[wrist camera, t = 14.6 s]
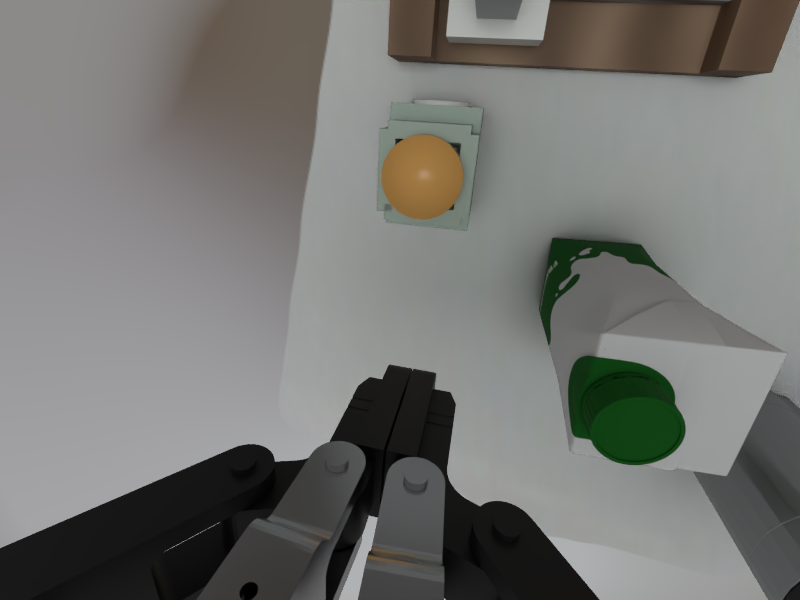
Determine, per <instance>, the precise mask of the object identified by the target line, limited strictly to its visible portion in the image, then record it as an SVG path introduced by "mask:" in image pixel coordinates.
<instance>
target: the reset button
mask: <svg viewBox="0 0 800 600" xmlns="http://www.w3.org/2000/svg"><path fill="white" fill-rule="evenodd" d="M457 149H458V146H455V145H450V144H449V143H448V142H447V141H445V140H444V139H442V138H440V137H438V136H434V135H429V134H419V135H414V136H411V137H408V138H406V139H403V140H402V141H400V142H399V143H397V144H396V145H395V146H394V147H393V148H392V149H391V150H390V152H389V153H388V155H387V157H386V159H385V161H384V164H383V168H382V175H381V179H382V187H383V190H384V193H385V196H386V198H387V199H388V201H389V202H390V204H391V205H392V206H393V207H394V208H395V209H396V210H397V211H398V212H400V213H401V214H403V215H405V216H407V217H410V218H413V219H420V220H425V219H431V218H435V217H437V216H440V215H441V214H443V213H445V212H446V211H447V210H448V209H450V208H451V207H452V205H453V204H454V203H455V201H456V200H457V198H458V196H459V194H460V191H461V188H462V184H463V176H464V174H463V166H462V162H461V159H460V157H459V155H458V153H457Z"/></svg>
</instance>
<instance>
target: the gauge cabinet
mask: <svg viewBox="0 0 800 600" xmlns="http://www.w3.org/2000/svg"><path fill="white" fill-rule="evenodd" d="M469 104H470V103H466V102H454V101H439V100H420V99H413V104H411V103H395V102H391V114H390V120H388V127H386V128H380V133H379V161H378V190H377V211H384V219H386V222H389V223H398V224H408V225H417V226H426V227H436V228H445V229H455V230H464V231H467V228H468V222H469V215H470V209H471V201H472V193H473V186H474V178H475V171H476V163H477V155H478V148H479V140H480V133H481V125H482V118H483V110H484V109H483V108H474V107H469ZM419 134H429V135H434V136H438V137H440V138H442V139H444V140H445V141H447V142H448V143H449V144H450V145H455V146H458V149H457V153H458V155H459V157H460V159H461V162H462V166H463V174H464V176H463V184H462V188H461V191H460V194H459V196H458V198H457V200H456V201H455V203H454V204H453V205H452V207H451V208H450V209H448V210H447V211H446V212H445V213H443V214H441V215H440V216H437V217H435V218H431V219H425V220H420V219H413V218H410V217H407V216H405V215H403V214H401V213H400V212H398V211H397V210H396V209H395V208H394V207H393V206H392V205H391V204H390V202H389V201H388V199H387V198H386V196H385V193H384V190H383V187H382V179H381V175H382V168H383V164H384V161H385V159H386V157H387V155H388V153H389V152H390V150H391V149H392V148H393V147H394V146H395V145H396V144H397V143H399V142H400V141H402V140H403V139H406V138H408V137H411V136H414V135H419Z"/></svg>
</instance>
